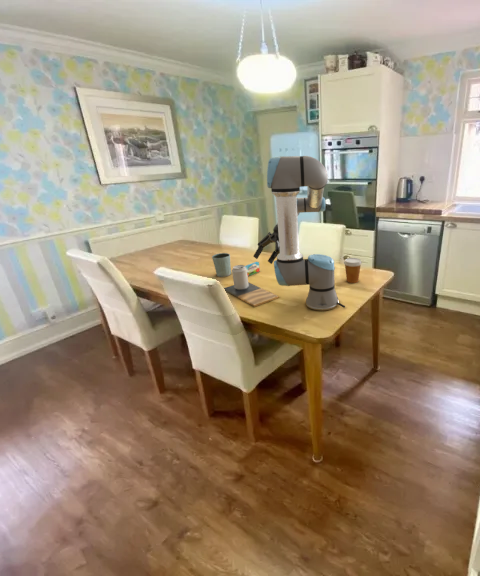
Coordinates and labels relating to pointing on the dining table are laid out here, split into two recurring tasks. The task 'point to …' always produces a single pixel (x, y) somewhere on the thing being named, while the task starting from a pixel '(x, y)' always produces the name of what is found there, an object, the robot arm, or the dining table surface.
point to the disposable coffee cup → (352, 269)
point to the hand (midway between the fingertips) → (262, 260)
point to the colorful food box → (252, 268)
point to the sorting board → (252, 294)
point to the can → (240, 277)
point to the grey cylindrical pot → (222, 264)
